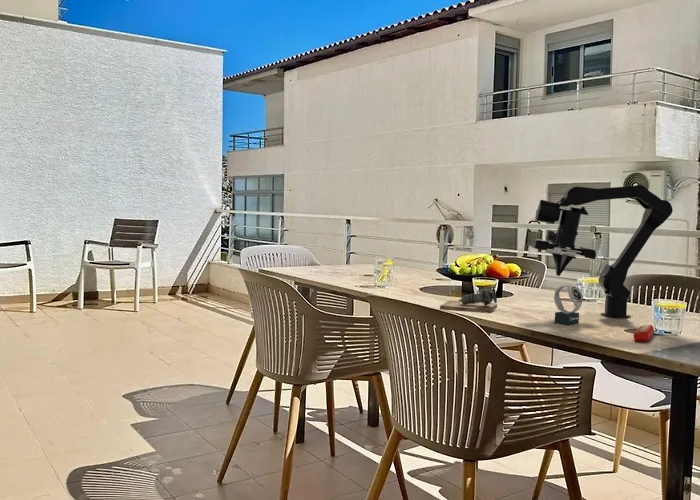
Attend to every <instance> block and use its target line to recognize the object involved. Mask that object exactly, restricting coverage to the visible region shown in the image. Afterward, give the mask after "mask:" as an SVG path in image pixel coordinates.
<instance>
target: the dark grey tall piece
mask: <svg viewBox="0 0 700 500" xmlns="http://www.w3.org/2000/svg"><path fill="white" fill-rule="evenodd" d="M497 298H498V297H497V293H496V289H495V287H492V288H491V290H490V289H488V288H484V287H482V288H481V291H480V292H477V293H476V292H475V293H473V292H472V293H470V294H465V295H462V296H461V299H459V300H458V301H461V302H462V303H463V304H471V303H472V304H474V303H479V302H480V303H484V305H485V306H486V305H488V304H490V303H493V302H494V304H498V301H497V300H498V299H497Z"/></svg>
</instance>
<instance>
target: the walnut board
mask: <svg viewBox="0 0 700 500" xmlns="http://www.w3.org/2000/svg"><path fill="white" fill-rule="evenodd" d="M497 307H498V303H495V302H494V303H493V302H491V303H490V304H488V305H486V306H485V305H484V303H481V302H479V303H474V304H472V303H471V304H463V303H462V302H461V301H459V300H450V299H449V300H448V301H446V302H445V303H443V304H440V305H439V309H440V310H453V311H465V312H466V311H467V312H479V313H491V312H493V311H494V310H495V309H496V308H497Z"/></svg>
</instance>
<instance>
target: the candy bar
mask: <svg viewBox="0 0 700 500" xmlns="http://www.w3.org/2000/svg"><path fill="white" fill-rule="evenodd" d="M654 333H655V329H654V325H653V324H645V325H644V324H643V325H641V326H639V327H637V329H636V330H635V332H634V333H633V341H634V342H636V343H642V342H648V341H649V340H650V339H651V338H652V336H653V335H654Z"/></svg>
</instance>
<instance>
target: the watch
mask: <svg viewBox="0 0 700 500" xmlns="http://www.w3.org/2000/svg"><path fill="white" fill-rule="evenodd" d="M564 288H566V290H567V293H568V296H569V297H568V298H569V299H570V301H571V302H573V305H574V308H573V309H572V310H571V311H570V310H566V309H565V306H564V304H563V302H562V299H561V297H560V292H561V291H562V289H564ZM553 300H554V304H555V306H556V308H557V310H559V311H556V312H554V324H557V325H562V326H572V325H578V324H580V312H578V311H579V310H580V308H581V307H582V304H583V300H584V295H583V294H582V291H581V290H580V289H579V288H578V287H577V286H574V285H570V284H565V285H560V286H558V287H557V288H556V289H555V291H554V296H553Z"/></svg>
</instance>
